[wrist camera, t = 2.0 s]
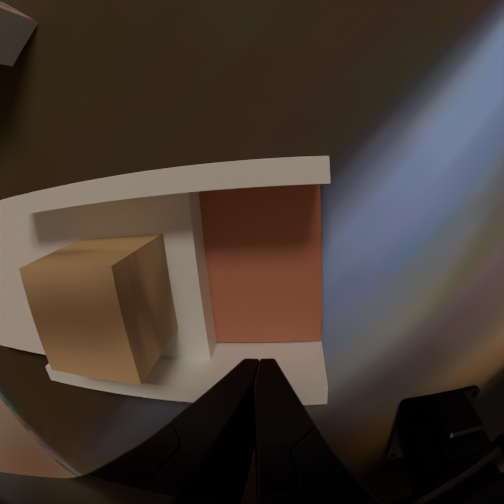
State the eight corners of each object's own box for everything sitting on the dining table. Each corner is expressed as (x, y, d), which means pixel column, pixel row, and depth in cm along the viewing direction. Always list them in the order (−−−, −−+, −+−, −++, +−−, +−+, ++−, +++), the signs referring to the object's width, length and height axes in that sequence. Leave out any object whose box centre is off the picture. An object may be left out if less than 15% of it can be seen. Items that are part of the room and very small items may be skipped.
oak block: (178, 327, 16) (141, 384, 12) (99, 323, 17) (51, 369, 12) (162, 233, 15) (111, 266, 10) (80, 239, 16) (19, 268, 11)
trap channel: (320, 353, 18) (326, 404, 14) (4, 332, 21) (-28, 355, 17) (317, 157, 15) (328, 155, 11) (-27, 208, 19) (-67, 220, 14)
